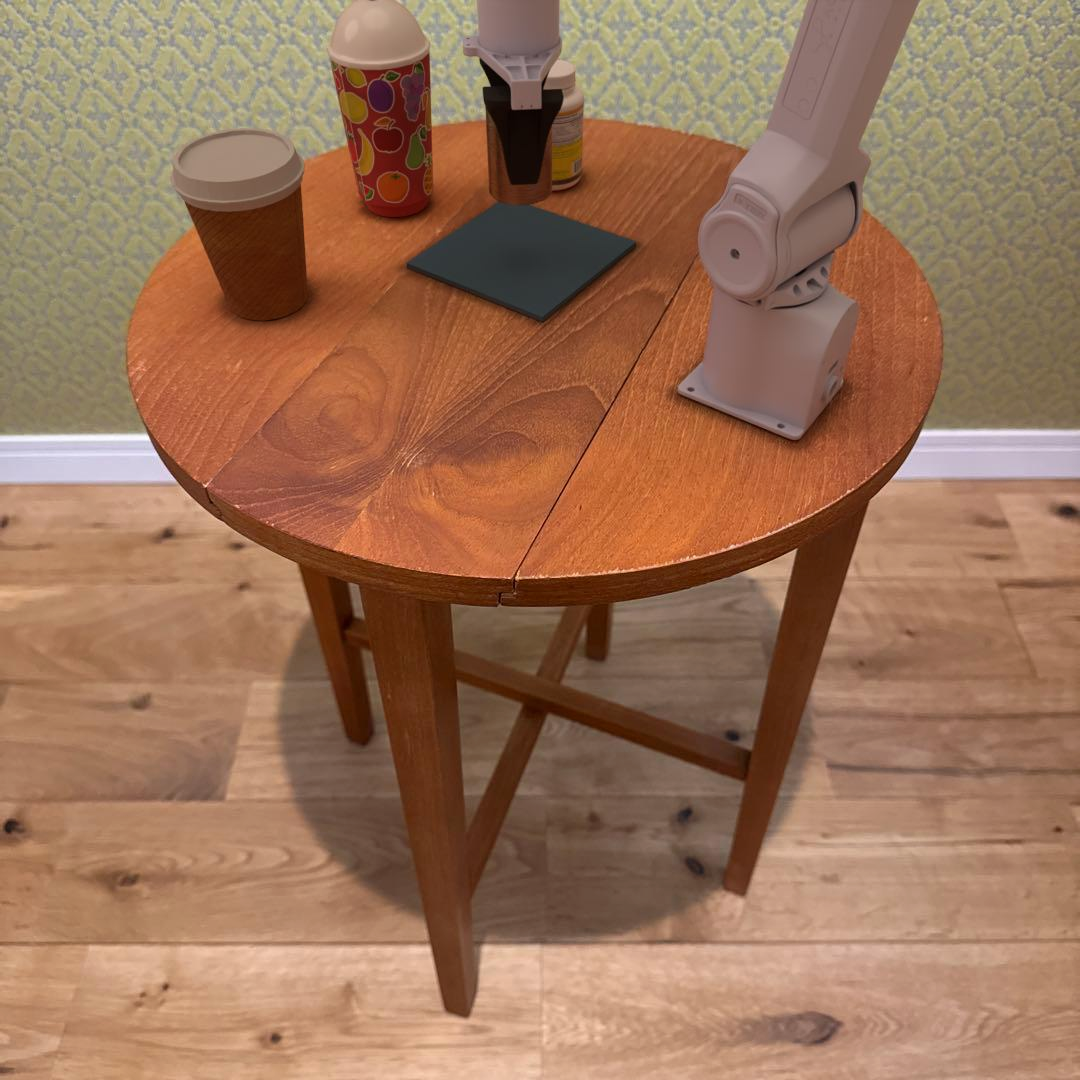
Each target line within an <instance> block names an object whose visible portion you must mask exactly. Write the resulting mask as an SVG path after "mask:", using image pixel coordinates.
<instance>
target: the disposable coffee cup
mask: <svg viewBox="0 0 1080 1080" xmlns="http://www.w3.org/2000/svg"><path fill="white" fill-rule="evenodd" d="M305 165H306V164H305V161H304V159H303V157H302V156H301V155H300V154H299V153H298V151H297V149H296V146H295V145H294V142H293V141H292V140H291V138H289V137H288V136H286V135H284V134H282V133H280V132H277V131H273V130H269V129H264V128H256V127H239V128H229V129H223V130H216V131H213V132H210V133H207V134H202V135H200V136H198V137H196V138H193V139H191V140H188V142H186V143H185V144H183V145H181V146H180V147H179V148H178V149H177V150H176V152H175V153H174V154H173V159H172V172H171V175H170V183H171V187H172V188H173V190H175V192H176V193H177V194H178V196H179V197H180V198H181V200H182V201H183V202H184V204H185V206H186V207H185V208H186V209H187V211H188V214H189V216H190V218H191V221H192V223H193V225H194V228H195V230H196V233H197V235H198V237H199V240H200V241H201V244H202V246H203V249H204V251H205V254H206V255H207V259H208V260H209V263H210V265H211V267H212V270H213V272H214V274H215V277H216V279H217V281H218V284H219V286H220V288H221V290H222V293H223V295H224V297H225V301H226V302H227V305H228V307H229V309H230V311H232V313H233V314H235V315H236V316H239V317H240V318H243V319H247V320H252V321H271V320H276V319H280V318H284V317H287V316H289V315H291V314H294V313H295V312H297V311H298V310H300V309H301V308H302V307H303V306H304V304H306V302H307V300H308V298H309V291H308V290H309V289H308V275H307V274H308V273H307V258H306V257H307V256H306V241H305V225H304V210H303V194H302V182H303V180H304V179H303V178H304V177H303V175H304V174H305V168H306V166H305Z"/></svg>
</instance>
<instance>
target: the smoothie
mask: <svg viewBox="0 0 1080 1080" xmlns="http://www.w3.org/2000/svg"><path fill="white" fill-rule="evenodd" d="M430 49H431V41H430V40H429V39H428V36H427V35H425V34H424V32H423V30H422V28H421V26H420V24H419V22H418V21H417V19H416V18H415V16H414V15H413V14H412V12H411V11H410V10H409V9H408V8H407V7H406V6H405V5H403V4H402V3H400V2H399V1H397V0H354V1H352V2H351V3H350V4H349V5H347V6H346V7H345V8H344V9H343V11H342V12H341V13H340V15H339V16H338V18H337V20H336V23H335V25H334V27H333V32H332V34H331V40H330V41H329V43H328V44H327V47H326V52H327V54H328V57H329V63H330V68H331V72H332V77H333V82H334V86H335V91H336V95H337V100H338V104H339V109H340V115H341V118H342V119H341V120H342V123H343V128H344V133H345V137H346V142H347V146H348V152H349V157H350V160H351V165H352V166H351V167H352V171H353V174H354V179H355V185H356V189H357V193H358V195H359V198H360V199H362V200H363V201H364V202H365V204H366V207H367V210H369V211H370V212H371V213H373V214H375V215H378V216H381V217H388V218H403V217H408V216H411V215H414V214H417V213H419V212H421V211H422V210H424V209H425V207H426V206H428V204H429V196H430V195H431V194H432V193H433V191H434V165H433V163H434V162H433V129H432V128H433V127H432V124H433V123H432V122H433V121H432V90H431V89H432V88H431V56H430V55H431V53H430Z"/></svg>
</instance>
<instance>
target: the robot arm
mask: <svg viewBox="0 0 1080 1080" xmlns="http://www.w3.org/2000/svg"><path fill="white" fill-rule="evenodd" d="M920 1H921V0H807V2H806V5H805V9H804V12H803V14H802V17H801V20H800V23H799V27H798V30H797V33H796V36H795V39H794V42H793V45H792V48H791V51H790V53H789V57H788V60H787V62H786V66H785V69H784V72H783V75H782V77H781V81H780V84H779V87H778V90H777V94H776V96H775V99H774V102H773V106H772V109H771V112H770V115H769V118H768V121H767V123H766V127H765V129H764V131H762V132H763V133H761V135H760V136H759V137H758V139H757V140H756V141H755V143H754V144H753V145H752V146H751V148H750V149H749V150H748V152H746V154H745V155H744V156H743V157H742V159H741V160H740V161H739V162H738V164H737V165H736V167H735V168H734V169H733V170H732V171H731V172H730V173H731V174H730V175H729V178H728V180H727V183H726V187H725V189H724V192H723V194H722V196H721V197H720V199H719V200H718V201H717V202H716V203H715V204H714V205H713V206H712V207H710V209H708V210H707V212H706V213H705V214H704V215H703V217H702V220H701V222H700V223H699V229H698V234H697V249H698V254H699V258H700V262H701V264H702V266H703V269H704V271H705V273H706V274H707V276H708V278H709V279H710V286H711V287H713V291H712V297H711V303H710V304H711V305H710V311H709V318H708V326H707V331H706V339H705V345H704V346H705V347H704V352H703V359H702V361H701V362H700V363H699V364H697V366H696V367H695V368H694V369H693V370H692V371H691V372H690V373H689V374H688V375H687V376H686V377H685V378H684V379H683V380H682V381H681V382H680V383H679V384H678V385H677V393H678V394H679V395H681V396H684V397H685V398H688V399H691V400H693V401H695V402H698V403H700V404H703V405H705V406H708V407H710V408H712V409H715V410H718V411H720V412H722V413H725V414H727V415H730V416H733V417H735V418H736V419H737V418H738V419H739V420H742V421H745V422H747V423H750V424H752V425H754V426H757V427H759V428H761V429H765V430H766V431H769V432H772V433H774V434H776V435H778V436H781V437H784V438H786V439H789V440H790V441H797V440H800V439H801V438H802V437H803V436H804V435H805V434H806V432H807V431H808V430H809V428H810V427H811V426H812V424H813V423H814V422H815V421H816V420H817V418H818V417H819V416H820V414H821V413H822V412H823V411H824V409H825V408H826V407H827V406H828V404H829V403H830V402H831V401H832V399H833V398H834V397H835V396H836V395H837V393H838V392H839V391H840V390H841V388H842V387H843V384H844V379H843V376H844V373H845V369H846V365H847V361H848V357H849V354H850V350H851V346H852V343H853V340H854V335H855V332H856V328H857V325H858V324H857V323H858V321H859V316H860V302H859V301H857V300H855V299H854V298H852V297H850V296H848V295H846V294H845V293H843V292H842V291H840V290H839V289H838V288H836V286H834V285H833V284H832V283H831V282H830V281H829V280H830V279H829V278H830V272H831V268H832V266H833V261H834V258H835V253H836V251H835V250H837V249H839V248H842V247H843V246H845V245H846V244H848V243H849V242H850V241H851V240H852V239H853V238H854V236H855V235H856V233H857V232H858V230H859V228H860V225H861V222H862V219H863V212H864V197H863V190H864V184H865V179H866V176H867V174H868V172H869V169H870V167H871V165H872V159H871V157H870V156H869V154H868V153H867V151H866V150H865V149H864V148H863V147H862V145H860V144H861V141H862V140H863V137H864V135H865V132H866V130H867V128H868V125H869V122H870V120H871V117H872V115H873V113H874V110H875V108H876V107H877V104H878V102H879V101H878V100H879V99H880V96H881V94H882V91H883V90H884V87H885V84H886V82H887V80H888V77H889V75H890V73H891V70H892V67H893V65H894V62H895V61H896V59H897V56H898V54H899V50H900V49H901V46H902V44H903V41H904V39H905V38H906V37H905V36H906V34H907V32H908V30H909V27H910V24H911V22H912V19H913V18H914V15H915V12H916V10H917V8H918V6H919V3H920ZM560 2H561V1H560V0H476V10H477V30H478V31H477V33H478V34H477V35H472V36H471V35H470V36H464V37H463V38H462V40H461V41H462V42H461V43H462V54H463V55H464V56H465V57H469V58H470V57H477V58H478V60H479V64H480V65H479V66H480V67H481V68H482V70H483V73H484V74H485V76H486V78H487V81H488V83H489V86H482V100H483V104H484V107H485V106H486V109H487V111H488V113H489V114H490V116H491V118H492V120H493V122H494V124H495V126H496V128H497V131H498V134H499V137H500V141H501V145H502V150H503V155H504V160H505V166H506V170H507V174H508V178H509V181H510V183H511V185H526V184H537V183H538V180H539V176H540V172H541V168H542V163H543V158H544V152H545V147H546V143H547V139H548V135H549V132H550V129H551V127H552V124H553V122H554V120H555V118H556V116H557V114H558V113H559V111H560V109H561V107H562V104H563V100H564V96H563V92H562V89H545V90H543V88H544V85H545V82H546V79H547V76H548V74H549V72H550V69H551V68H552V66H553V65H554V63H555V62H556V60H559V57H560V56H561V54H562V51H563V39H562V37H561V35H560V4H561V3H560ZM486 109H485V110H486Z"/></svg>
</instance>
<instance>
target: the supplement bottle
mask: <svg viewBox="0 0 1080 1080" xmlns="http://www.w3.org/2000/svg"><path fill="white" fill-rule="evenodd" d="M576 82H577V80H576V67H575V65H574V64H573V63H572V62H569V61H566V60H562V59H557V60H556V62H555V63H554V65H553V66H552V68H551V69H550V72H549V74H548V76H547V79H546V82H545V85H544V88H543V90H545V89H562V92H563V96H564V100H563V104H562V107H561V109H560V111H559V113H558V114H557V116H556V118H555V120H554V122H553V124H552V191H561V190H566V189H569V188H571V187H573V186H575V185H576V184H577V183H578V182H579V181H580V180H581V177H582V173H583V171H582V170H583V147H584V146H583V145H584V144H583V143H584V111H585V109H584V107H585V105H584V104H585V97H584V96H585V95H584V92H583V90H582V89H581V88H580V87H579V86H578V85H577V84H576Z"/></svg>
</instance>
